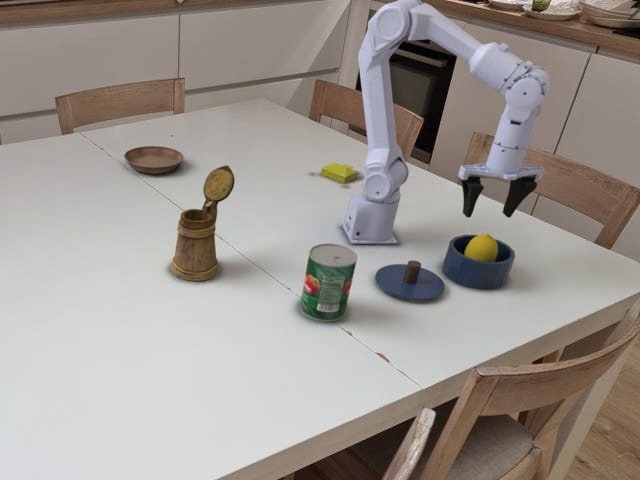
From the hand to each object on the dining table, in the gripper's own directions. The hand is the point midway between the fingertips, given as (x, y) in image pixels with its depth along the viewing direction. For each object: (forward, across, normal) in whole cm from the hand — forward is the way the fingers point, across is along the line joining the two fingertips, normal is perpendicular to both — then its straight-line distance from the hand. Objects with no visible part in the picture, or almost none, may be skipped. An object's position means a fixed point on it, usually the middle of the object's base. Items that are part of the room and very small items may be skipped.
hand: (486, 215), depth 126 cm
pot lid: (+10, -15, -8) cm, 20 cm away
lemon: (+10, -1, -4) cm, 11 cm away
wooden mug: (+11, -53, 0) cm, 54 cm away
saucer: (+11, -61, +50) cm, 80 cm away
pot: (+10, -1, -4) cm, 11 cm away
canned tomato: (+11, -33, -16) cm, 38 cm away
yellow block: (+11, -15, +44) cm, 48 cm away
